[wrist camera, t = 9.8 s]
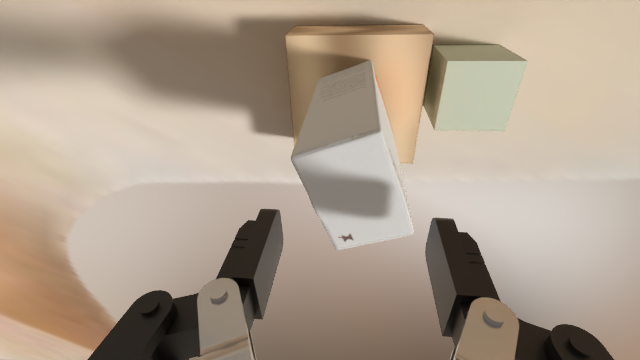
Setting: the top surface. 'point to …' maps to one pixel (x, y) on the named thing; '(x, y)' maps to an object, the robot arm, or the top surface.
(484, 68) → the sage cube
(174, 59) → the top surface
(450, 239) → the robot arm
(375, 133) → the skincare box
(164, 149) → the top surface
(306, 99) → the block
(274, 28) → the top surface
